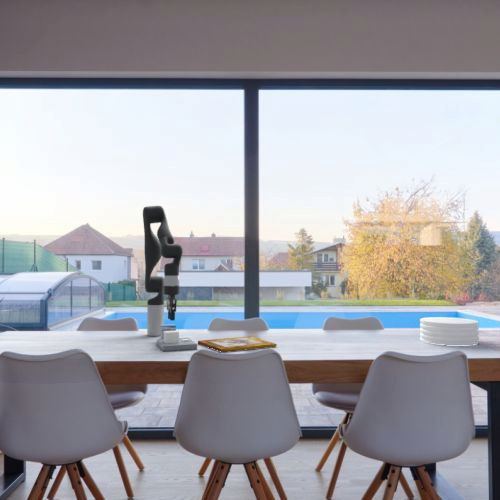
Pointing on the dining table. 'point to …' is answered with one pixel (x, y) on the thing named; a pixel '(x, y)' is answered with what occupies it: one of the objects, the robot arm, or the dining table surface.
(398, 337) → the dining table surface
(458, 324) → the plate stack
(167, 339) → the plug
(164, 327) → the medicine box
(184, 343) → the socket panel
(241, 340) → the picture frame
